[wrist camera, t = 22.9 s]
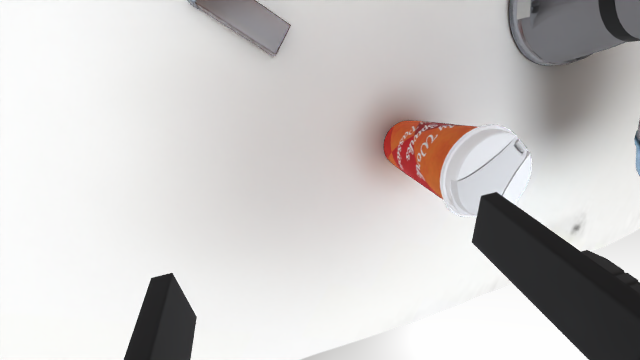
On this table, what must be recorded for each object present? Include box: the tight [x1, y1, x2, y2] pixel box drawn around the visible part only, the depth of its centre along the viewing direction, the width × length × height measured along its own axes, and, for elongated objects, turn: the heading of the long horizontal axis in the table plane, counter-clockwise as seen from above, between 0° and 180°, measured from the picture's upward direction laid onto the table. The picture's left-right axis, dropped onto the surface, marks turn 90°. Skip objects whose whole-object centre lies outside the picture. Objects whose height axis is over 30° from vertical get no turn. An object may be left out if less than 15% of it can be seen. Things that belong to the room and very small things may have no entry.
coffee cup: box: [384, 121, 532, 217], centre depth 31 cm, size 8×8×15 cm
